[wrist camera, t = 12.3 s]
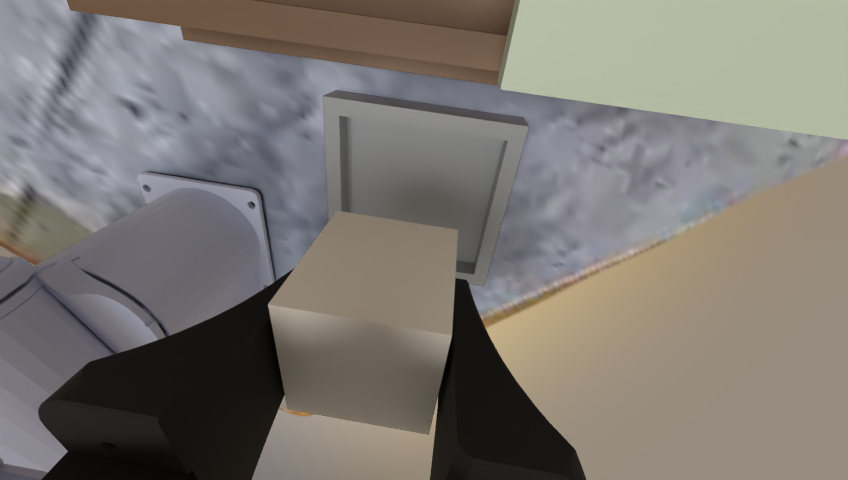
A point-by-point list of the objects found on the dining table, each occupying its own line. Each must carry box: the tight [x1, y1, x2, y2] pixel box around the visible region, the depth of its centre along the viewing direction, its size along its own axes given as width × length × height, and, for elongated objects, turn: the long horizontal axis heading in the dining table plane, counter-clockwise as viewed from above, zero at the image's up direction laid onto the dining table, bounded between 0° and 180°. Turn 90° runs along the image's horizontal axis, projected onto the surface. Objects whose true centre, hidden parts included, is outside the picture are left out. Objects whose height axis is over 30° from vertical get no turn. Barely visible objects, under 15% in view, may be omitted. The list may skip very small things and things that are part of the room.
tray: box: [323, 90, 529, 286], centre depth 20 cm, size 10×10×2 cm
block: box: [268, 211, 458, 435], centre depth 11 cm, size 4×4×5 cm
